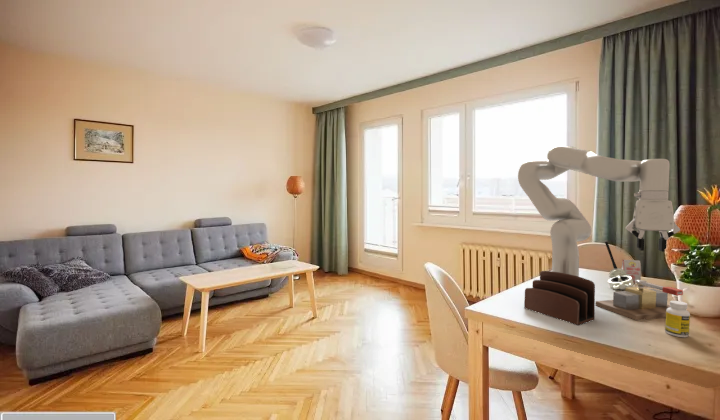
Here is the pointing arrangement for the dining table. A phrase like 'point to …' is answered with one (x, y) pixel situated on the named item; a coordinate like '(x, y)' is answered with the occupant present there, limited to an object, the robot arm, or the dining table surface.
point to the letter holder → (562, 297)
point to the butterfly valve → (618, 275)
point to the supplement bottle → (677, 319)
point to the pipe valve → (639, 298)
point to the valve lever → (660, 287)
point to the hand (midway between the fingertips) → (651, 249)
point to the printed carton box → (632, 269)
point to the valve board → (635, 311)
